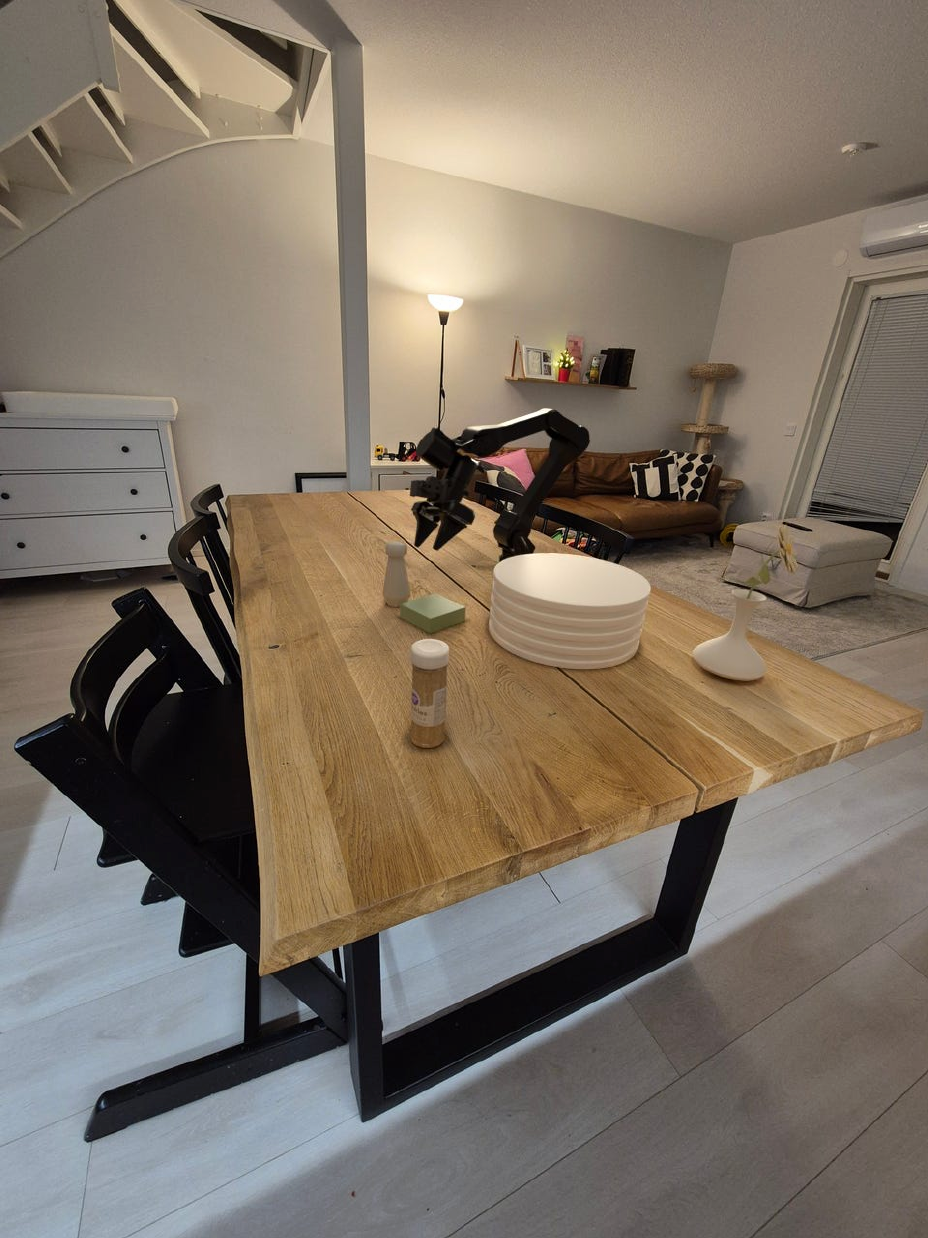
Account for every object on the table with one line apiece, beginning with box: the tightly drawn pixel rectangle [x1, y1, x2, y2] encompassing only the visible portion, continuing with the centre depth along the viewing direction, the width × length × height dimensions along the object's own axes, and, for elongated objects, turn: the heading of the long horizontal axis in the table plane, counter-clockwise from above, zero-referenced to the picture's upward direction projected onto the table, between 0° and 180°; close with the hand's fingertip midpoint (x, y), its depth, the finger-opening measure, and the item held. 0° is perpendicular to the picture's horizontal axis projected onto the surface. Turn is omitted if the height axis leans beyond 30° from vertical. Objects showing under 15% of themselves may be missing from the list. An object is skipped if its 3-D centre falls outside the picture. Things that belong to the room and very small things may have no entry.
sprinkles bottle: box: [409, 638, 450, 749], centre depth 62 cm, size 5×5×14 cm
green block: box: [399, 593, 467, 634], centre depth 98 cm, size 9×9×3 cm
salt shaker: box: [382, 541, 411, 608], centre depth 102 cm, size 6×6×13 cm
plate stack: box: [488, 552, 652, 670], centre depth 93 cm, size 28×28×12 cm
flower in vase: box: [692, 523, 799, 681], centre depth 81 cm, size 13×11×25 cm
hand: (425, 548), depth 107 cm, fingers open, 9 cm apart
